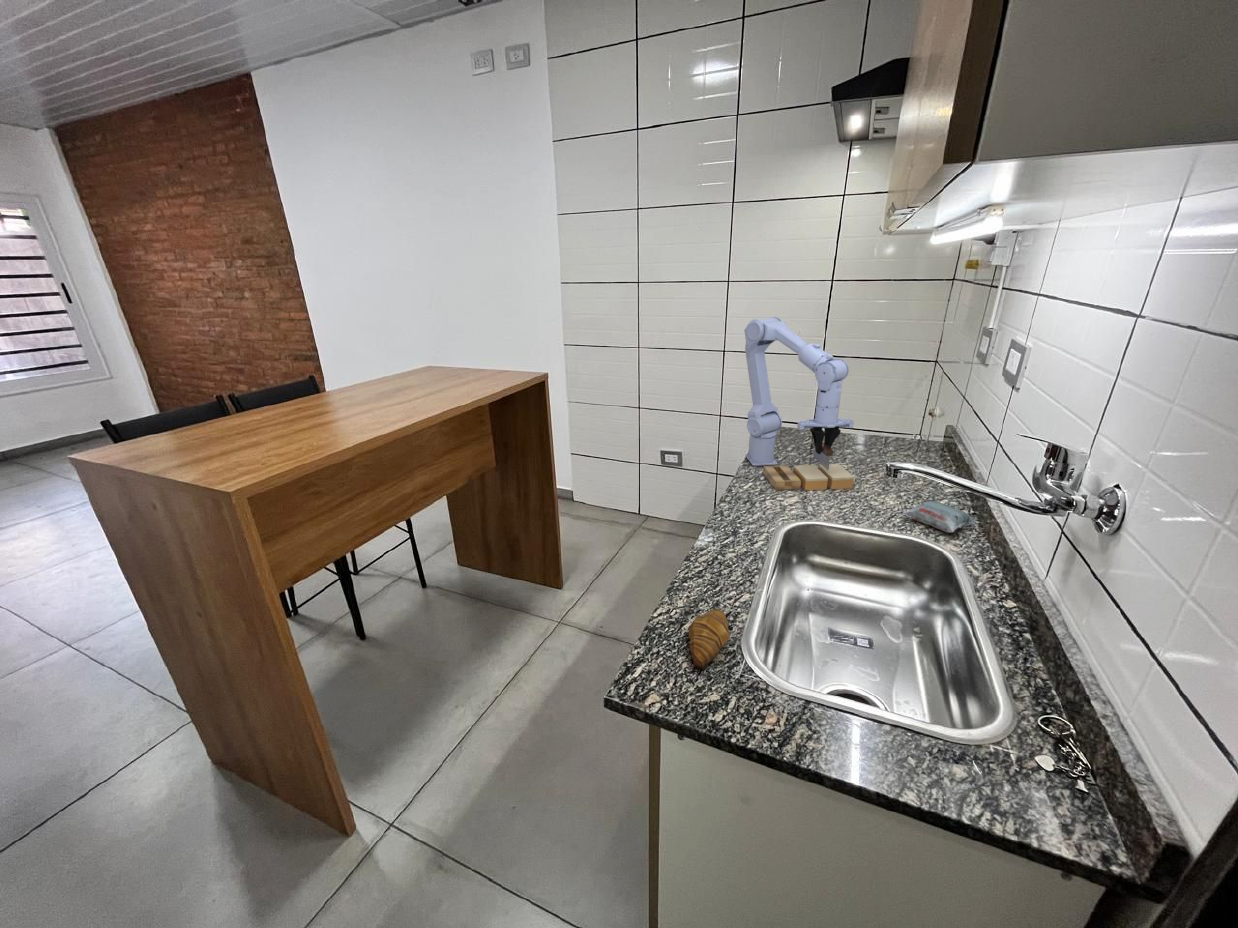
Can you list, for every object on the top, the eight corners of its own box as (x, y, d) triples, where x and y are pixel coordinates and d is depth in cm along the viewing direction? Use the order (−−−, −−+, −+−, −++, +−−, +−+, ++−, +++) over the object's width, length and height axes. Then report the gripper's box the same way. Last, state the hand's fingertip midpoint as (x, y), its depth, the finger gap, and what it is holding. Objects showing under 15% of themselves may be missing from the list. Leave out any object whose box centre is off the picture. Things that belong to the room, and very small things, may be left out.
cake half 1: (792, 476, 143) (793, 465, 142) (812, 475, 143) (814, 464, 142) (804, 490, 134) (806, 478, 132) (826, 489, 133) (828, 478, 132)
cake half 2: (816, 475, 143) (818, 464, 141) (837, 474, 143) (838, 463, 141) (830, 489, 133) (832, 477, 132) (852, 488, 133) (854, 477, 132)
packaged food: (951, 541, 106) (956, 521, 105) (900, 519, 116) (904, 501, 114) (974, 531, 110) (979, 512, 108) (923, 511, 120) (927, 493, 118)
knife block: (762, 473, 146) (763, 465, 145) (786, 472, 146) (786, 464, 145) (775, 490, 134) (775, 481, 134) (800, 489, 134) (801, 480, 134)
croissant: (700, 613, 87) (700, 590, 86) (737, 622, 85) (739, 599, 83) (676, 665, 76) (676, 639, 74) (718, 678, 73) (719, 652, 71)
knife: (811, 457, 141) (813, 439, 139) (816, 457, 141) (819, 439, 139) (825, 470, 132) (827, 450, 129) (830, 469, 132) (833, 450, 129)
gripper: (806, 410, 126) (801, 458, 131) (861, 408, 126) (854, 456, 131) (796, 403, 133) (792, 450, 138) (849, 401, 133) (843, 448, 138)
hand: (821, 452), depth 135 cm, fingers closed on knife, 1 cm apart
